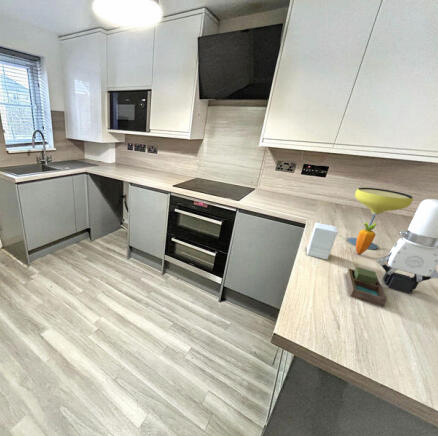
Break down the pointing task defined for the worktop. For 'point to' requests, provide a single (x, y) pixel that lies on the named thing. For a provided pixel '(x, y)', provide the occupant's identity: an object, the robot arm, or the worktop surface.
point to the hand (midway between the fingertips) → (397, 285)
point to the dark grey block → (401, 282)
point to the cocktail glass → (380, 203)
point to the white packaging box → (321, 240)
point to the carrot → (365, 238)
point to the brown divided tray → (365, 290)
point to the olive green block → (365, 275)
